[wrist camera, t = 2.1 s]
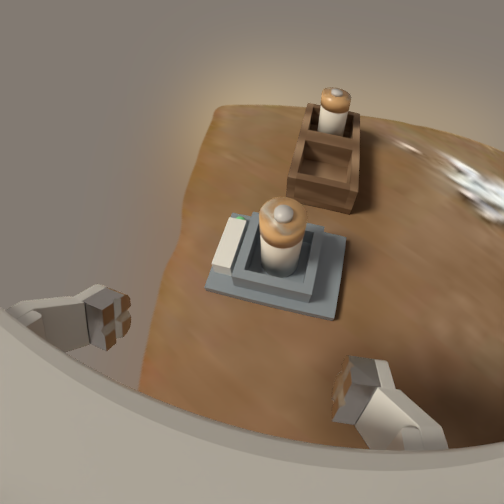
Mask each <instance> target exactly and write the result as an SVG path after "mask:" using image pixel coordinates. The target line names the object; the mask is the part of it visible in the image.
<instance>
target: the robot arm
mask: <svg viewBox="0 0 504 504" xmlns="http://www.w3.org/2000/svg"><path fill="white" fill-rule="evenodd" d="M130 306H131V303H130V298H129V296H128V295H126V294H124V293H121V292H118V291H116V290H114V289H111V288H108V287H106V286H103V285H101V284H96V285H94V286H92V287H90V288H89V289H86V290H85V291H83V292H81V293H79V294H78V295H76V296H74V297H71V296H66V297H57V298H47V299H38V300H28V301H21V302H19V303H17V304H15V305H14V306H12V307H10V308H8V309H6V310H4V309H2V308H1V307H0V504H504V441H503V442H498V443H492V444H486V445H480V446H472V447H464V448H454V449H449V448H448V445H447V442H446V438H445V435H444V432H443V429H442V427H441V426H440V425H439V424H438V423H437V422H436V421H434V420H433V419H432V418H431V417H430V416H429V415H428V414H426V413H425V412H424V411H423V410H422V409H421V408H420V407H419V406H417V405H416V404H415V403H414V402H413V401H412V400H411V399H409V398H408V397H407V396H406V395H405V394H404V393H403V392H402V391H400V390H398V389H396V388H395V385H394V382H393V378H392V375H391V372H390V368H389V365H388V362H387V361H386V360H377V359H369V358H362V357H355V356H349V355H346V357H345V358H344V360H343V362H342V371H341V372H340V373H338V374H337V376H336V379H335V381H334V385H333V388H332V400H333V401H334V404H333V406H332V421H334V422H340V423H346V424H353V425H355V427H356V429H357V430H358V432H359V433H360V435H361V436H362V438H363V439H364V441H365V442H366V444H367V445H368V447H369V448H370V449H357V448H346V447H337V446H328V445H321V444H314V443H308V442H302V441H297V440H291V439H286V438H281V437H277V436H272V435H268V434H263V433H259V432H255V431H251V430H247V429H243V428H240V427H236V426H233V425H229V424H226V423H222V422H219V421H216V420H213V419H210V418H207V417H204V416H201V415H198V414H195V413H192V412H189V411H186V410H183V409H181V408H178V407H175V406H173V405H170V404H168V403H165V402H163V401H160V400H158V399H155V398H153V397H151V396H148V395H146V394H144V393H141V392H139V391H137V390H135V389H132V388H130V387H128V386H126V385H124V384H122V383H120V382H117V381H115V380H114V379H112V378H110V377H108V376H106V375H104V374H102V373H100V372H98V371H96V370H94V369H93V368H91V367H89V366H87V365H85V364H84V363H82V362H80V361H78V360H77V359H75V358H73V357H71V356H70V355H68V354H66V353H65V352H68V351H71V350H74V349H77V348H81V347H84V346H87V345H89V344H92V345H94V346H96V347H98V348H100V349H102V350H105V351H108V350H109V349H110V348H111V347H112V346H113V345H114V344H116V339H117V338H121V337H124V336H125V334H126V333H127V332H128V330H129V328H130V325H131V315H130V313H129V311H128V308H129V307H130Z"/></svg>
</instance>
